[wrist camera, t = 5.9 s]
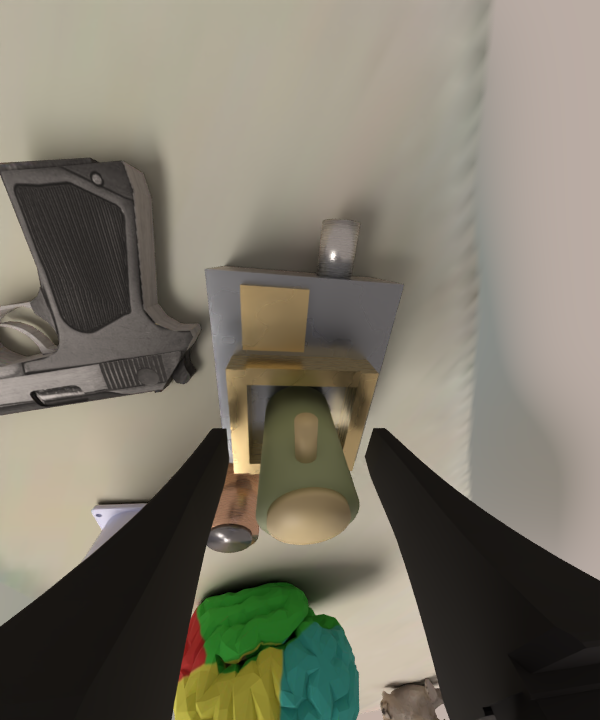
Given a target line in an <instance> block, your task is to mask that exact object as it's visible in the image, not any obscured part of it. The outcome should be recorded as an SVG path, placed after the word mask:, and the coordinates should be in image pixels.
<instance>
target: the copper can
mask: <svg viewBox="0 0 600 720" xmlns="http://www.w3.org/2000/svg"><path fill="white" fill-rule="evenodd" d="M258 485H259V474H250V473H239V474H234V464H233V463H229V464H228V470H227V475H226V480H225V484H224V488H223V491H222V494H221V498H220V501H219V504H218V508H217V511H216V514H215V518H214V521H213V524H212V528H211V531H210V534H209V538H208V541H207V546H208V547H209V548H211V549H212V550H215V551H218V552H224V553H233V552H238V551H242V550H244V549H246V548H248V547H249V546H250V545H252V544H253V543H255V542H256V540H257V539H258V534H259V525H258V523H257V520H256V505H257V495H258Z"/></svg>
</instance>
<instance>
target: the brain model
mask: <svg viewBox="0 0 600 720" xmlns="http://www.w3.org/2000/svg"><path fill="white" fill-rule="evenodd" d="M173 709H174V713H175V720H356V719H357V716H358V713H359V672H358V671H357V669H356V665H355V657H354V655H353V653H352V648H351V646H350V644H349V642H348V640H347V637H346V636H345V632H344V629H343V628H342V627H341V625H340V624H339V622H338V621H337V620H336V618H334V617H331V616H328V615H324V614H321V615H315V614H314V612H313V610H312V609H311V608H310V607H309V605H308V599H307V598H306V596H305V594H304V592H303V591H301V590H300V589H298V588H297V587H295V586H294V585H292V584H289V583H287V582H278V583H267V584H264V585H261V586H258V587H254V588H248V589H243V590H241V591H239V592H237V593H232V592H228V593H225V594H222V595H217V596H212V597H209V598H206V599H205V600H204V602H202V603H201V604H200V605H199V606H198V607H197V608H196V610H195V612H194V614H193V615H192V617H191V619H190V624H189V629H188V634H187V639H186V644H185V649H184V654H183V659H182V664H181V670H180V675H179V681H178V686H177V691H176V697H175V702H174V708H173Z"/></svg>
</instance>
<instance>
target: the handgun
mask: <svg viewBox="0 0 600 720" xmlns="http://www.w3.org/2000/svg"><path fill="white" fill-rule="evenodd" d="M0 175H1V178H2V180H3V183H4V185H5V188H6V191H7V193H8V196H9V198H10V201H11V203H12V206H13V208H14V211H15V213H16V216H17V218H18V221H19V223H20V226H21V228H22V231H23V233H24V236H25V239H26V241H27V244H28V246H29V249H30V251H31V254H32V256H33V259H34V261H35V264H36V266H37V270H38V275H39V280H40V285H41V287H40V289H39V292H38V295H37V296H36V297H35V298H34V299H33V300H32V301H29V302H22V303H17V304H11V305H6V306H1V307H0V320H1V319H2V318H3V317H4V315H5V314H7V313H9V312H10V311H12V310H14V309H16V308H17V307H21V306H24V307H28V308H31V309H33V311H34V313H35V314H36V315H38V316H39V317H41V318H42V319H44V320H45V321H47V322H48V323H49V324H50V325H51V326H52V327H53V328H54V330H55V332H56V334H57V336H58V340H59V346H57V345H54V344H53V342H52V341H51V340H50V339H49V338H48V337H47V336H45V335H44V334H43V333H42V332H41V331H39V330H37V329H36V328H34V327H33V326H30V325H27V324H24V323H21V322H11V321H9V322H5V323H1V324H0V326H3V327H11V328H13V329H16V330H18V331H20V332H22V333H24V334H25V335H27V336H28V337H30V338H31V339H32V340H33V341H34V342H35V343H36V344H37V345H38V347H39V349H40V351H41V353H40V354H36V355H32V356H28V357H27V356H24V355H21V354H18V353H15V352H12V351H10V350H9V349H7V348H5V347H4V346H3V344H2V343H1V342H0V415H6V414H12V413H19V412H25V411H31V410H38V409H44V408H50V407H57V406H63V405H69V404H76V403H82V402H88V401H95V400H101V399H107V398H114V397H120V396H126V395H133V394H139V393H145V392H152V391H154V392H155V393H156V392H162V390H164V389H165V388H166V387H167V386H168V385H169V383H170V381H171V380H172V378H173V379H174V380H175V381H176V383H180V384H185V383H187V382H188V381H189V380H190V378H191V377H192V376H193V374H194V373H195V370H196V369H195V368H194V366H193V364H192V363H191V360H190V350H191V347H192V345H193V344H194V343H195V341H196V339H197V337H198V335H199V333H200V331H201V327H200V325H199V323H190V324H182V323H181V322H179V321H177V320H175V319H173V318H171V317H169V316H168V315H167V314H166V313H165V312H164V310H163V309H162V308H161V307H160V305H159V304H158V294H157V277H156V261H155V244H154V228H153V212H152V198H151V195H150V191H149V188H148V185H147V182H146V179H145V176H144V173H142V172H141V171H139V170H137V169H136V168H134V167H133V166H131V165H129V164H128V163H126V162H124V161H113V162H102V163H99V162H97V161H95V160H93V159H92V158H78V159H61V160H43V161H26V162H9V163H0Z"/></svg>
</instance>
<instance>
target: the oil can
mask: <svg viewBox="0 0 600 720" xmlns="http://www.w3.org/2000/svg"><path fill="white" fill-rule="evenodd" d="M358 510H359V499H358V496H357V493H356V490H355V487H354V484H353V481H352V477H351V474H350V471H349V468H348V465H347V462H346V459H345V456H344V453H343V449H342V446H341V443H340V440H339V437H338V434H337V431H336V428H335V425H334V422H333V418H332V415H331V412H330V409H329V406H328V403H327V400H326V399H325V397H324V396H323V395H322V394H321V393H320V392H319V391H317V390H315V389H313V388H311V387H307V386H291V387H287V388H284V389H282V390H280V391H279V392H277V393H276V394H274V395H273V396H272V397H271V399H270V400H269V402H268V404H267V407H266V413H265V423H264V433H263V444H262V454H261V464H260V474H259V485H258V495H257V505H256V520H257V523H258V525H259V526H260V527H261V529H262V530H264V531H265V532H266V533H268V534H270V535H271V536H273V537H274V538H275V539H277V540H279V541H282V542H284V543H289V544H296V545H306V544H314V543H319V542H323V541H326V540H329V539H331V538H333V537H335V536H337V535H338V534H340V533H341V532H342V531H344V530H345V529H346V527H347V526H348V525H349V524H350V523H351V522H352V521H353V520H354V518H355V517H356V515H357V513H358Z"/></svg>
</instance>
